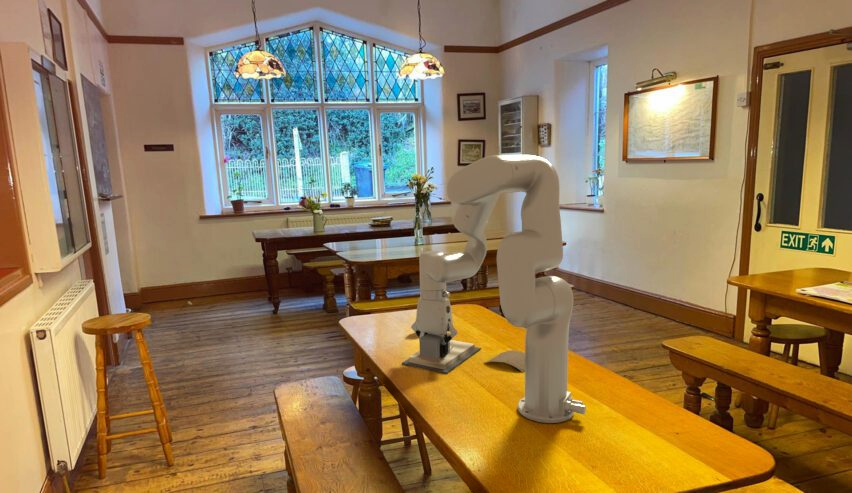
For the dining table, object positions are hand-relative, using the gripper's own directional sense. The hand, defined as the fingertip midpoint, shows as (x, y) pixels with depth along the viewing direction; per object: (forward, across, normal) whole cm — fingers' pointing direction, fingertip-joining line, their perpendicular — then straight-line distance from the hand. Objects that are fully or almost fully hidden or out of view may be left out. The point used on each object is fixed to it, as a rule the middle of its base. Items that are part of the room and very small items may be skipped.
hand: (434, 354), depth 150 cm
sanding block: (0, 0, 0) cm, 1 cm away
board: (+2, 0, -5) cm, 6 cm away
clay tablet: (+3, -20, -10) cm, 23 cm away
